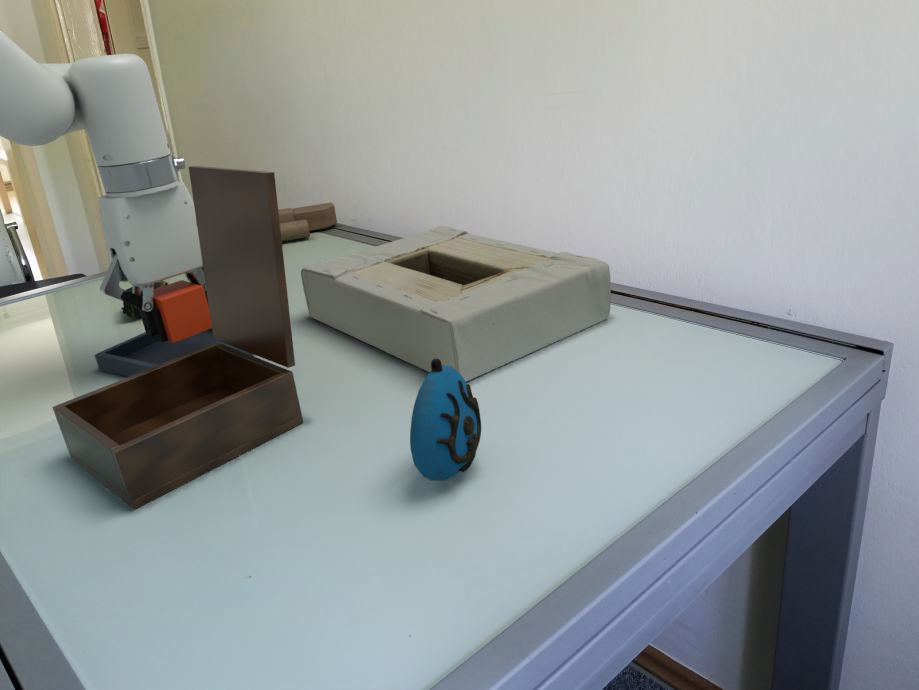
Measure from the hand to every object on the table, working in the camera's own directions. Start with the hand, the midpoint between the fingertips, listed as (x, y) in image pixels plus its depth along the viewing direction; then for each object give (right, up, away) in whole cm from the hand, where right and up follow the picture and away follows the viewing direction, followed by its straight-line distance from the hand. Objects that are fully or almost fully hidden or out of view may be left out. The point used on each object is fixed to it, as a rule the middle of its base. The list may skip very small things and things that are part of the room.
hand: (182, 329), depth 86 cm
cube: (0, 0, 0) cm, 0 cm away
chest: (+7, -11, -18) cm, 22 cm away
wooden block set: (+2, +17, +49) cm, 52 cm away
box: (+32, +1, +4) cm, 32 cm away
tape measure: (-12, +3, +18) cm, 22 cm away
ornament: (+32, -12, -27) cm, 44 cm away
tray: (0, -3, +1) cm, 4 cm away
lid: (+12, +6, -18) cm, 22 cm away
